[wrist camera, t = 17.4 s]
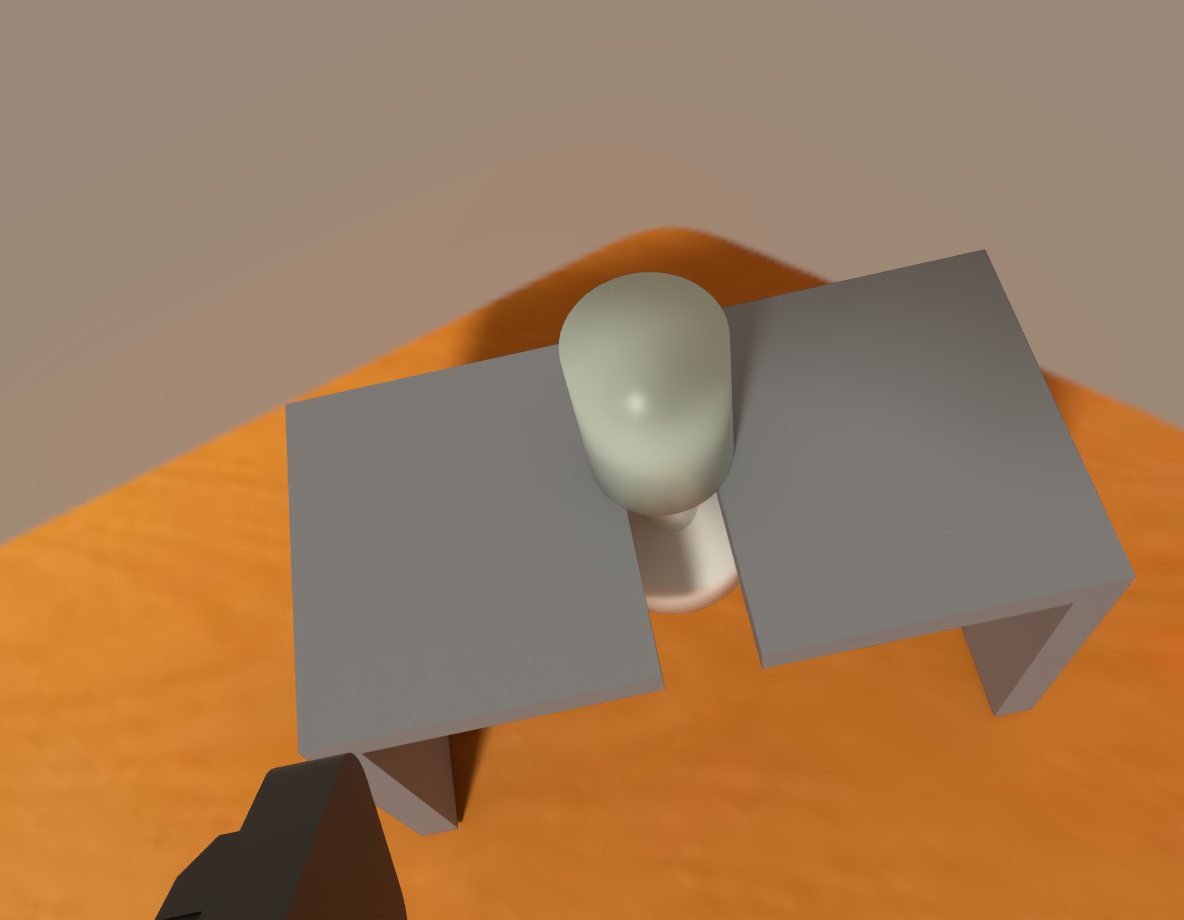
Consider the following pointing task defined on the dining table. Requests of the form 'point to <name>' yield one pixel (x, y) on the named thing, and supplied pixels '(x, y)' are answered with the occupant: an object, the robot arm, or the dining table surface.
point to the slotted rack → (749, 509)
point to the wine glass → (658, 426)
